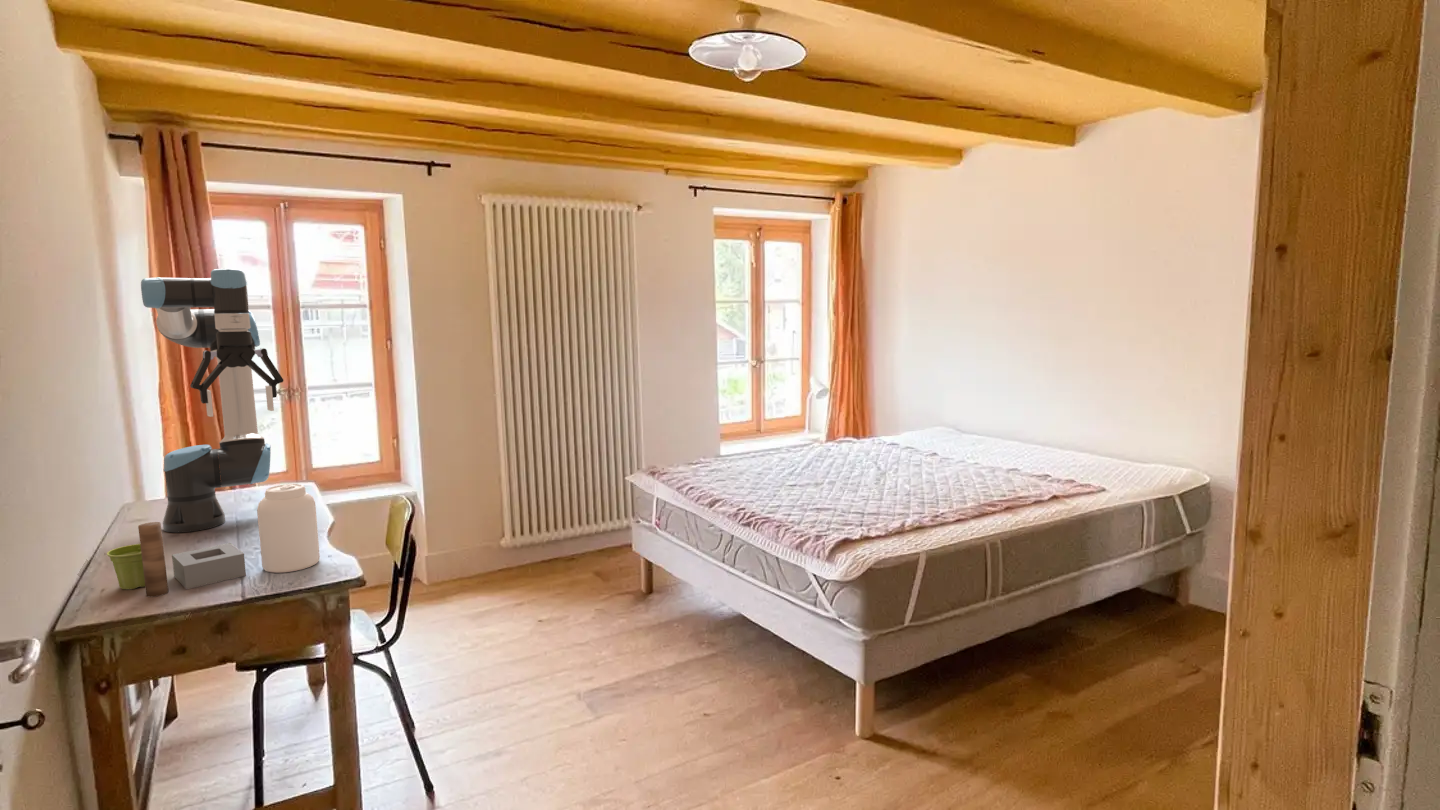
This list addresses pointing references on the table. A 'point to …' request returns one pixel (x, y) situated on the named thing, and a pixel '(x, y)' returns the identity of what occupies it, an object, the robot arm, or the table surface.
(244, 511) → the table surface
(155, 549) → the dowel
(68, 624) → the table surface
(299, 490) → the can
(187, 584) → the box
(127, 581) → the plant pot
